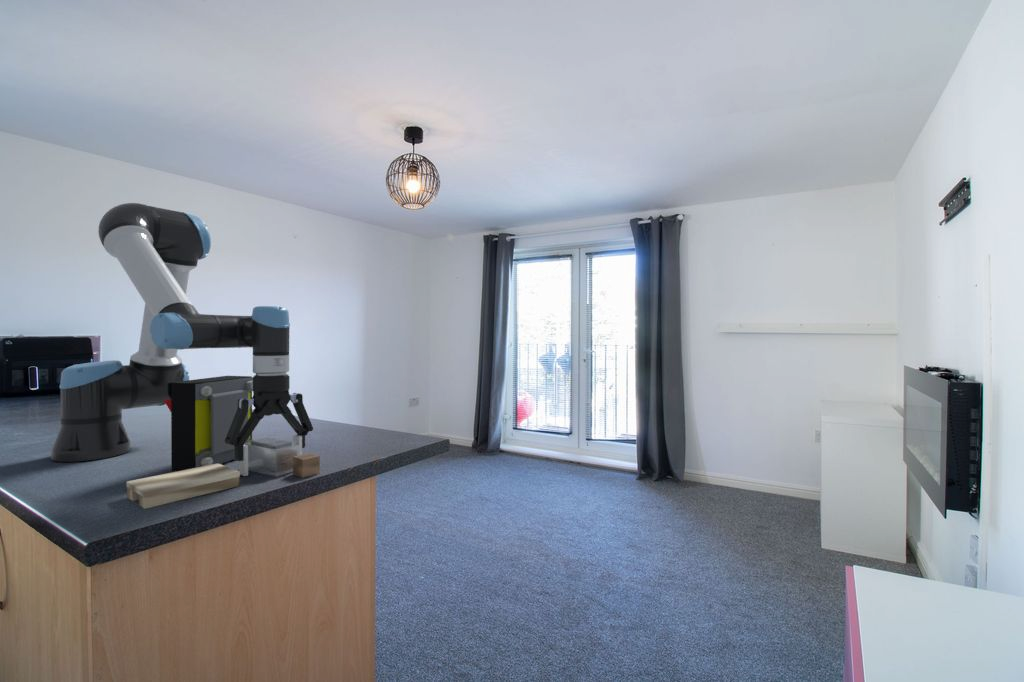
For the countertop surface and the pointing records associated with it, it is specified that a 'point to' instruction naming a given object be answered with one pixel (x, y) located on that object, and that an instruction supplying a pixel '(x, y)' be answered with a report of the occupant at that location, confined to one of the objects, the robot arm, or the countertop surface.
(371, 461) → the countertop surface
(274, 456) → the block
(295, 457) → the walnut block
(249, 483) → the countertop surface
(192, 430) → the electrical component
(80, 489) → the countertop surface
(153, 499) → the stand
